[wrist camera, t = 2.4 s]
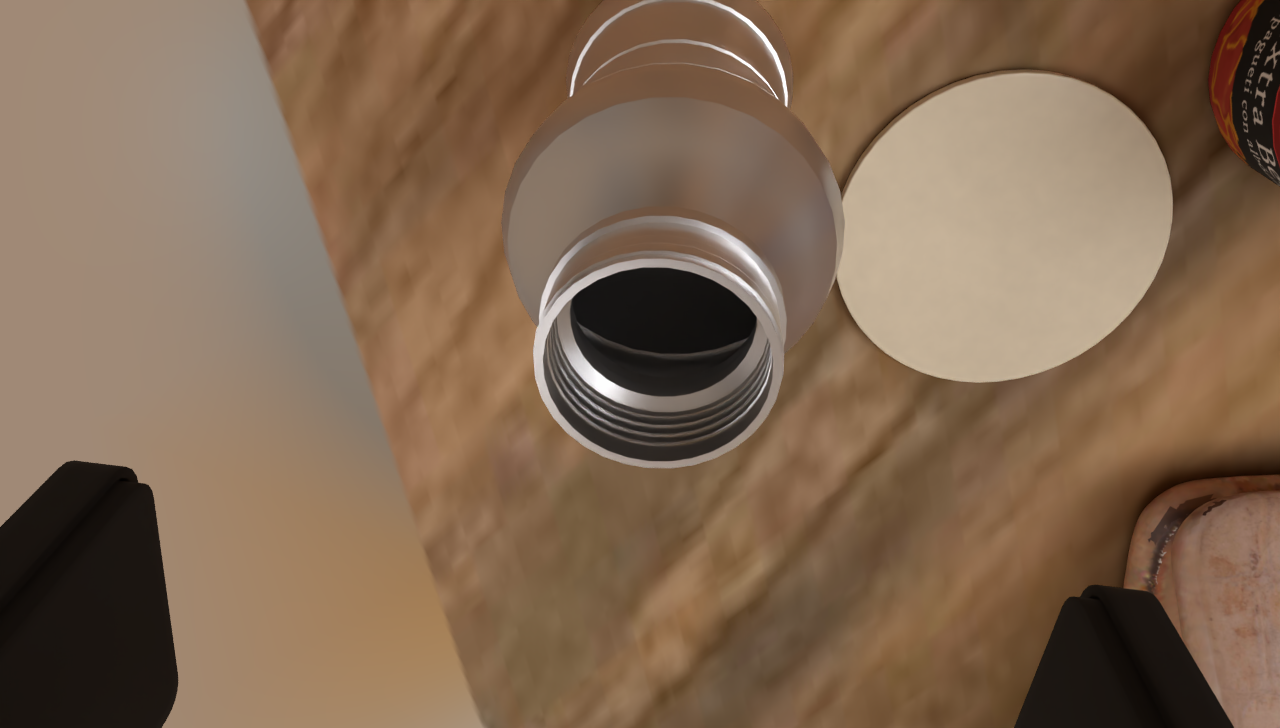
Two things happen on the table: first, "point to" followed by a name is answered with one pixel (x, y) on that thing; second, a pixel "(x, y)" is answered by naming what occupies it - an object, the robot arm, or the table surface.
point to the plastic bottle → (671, 230)
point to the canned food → (1249, 84)
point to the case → (1219, 584)
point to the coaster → (1003, 225)
